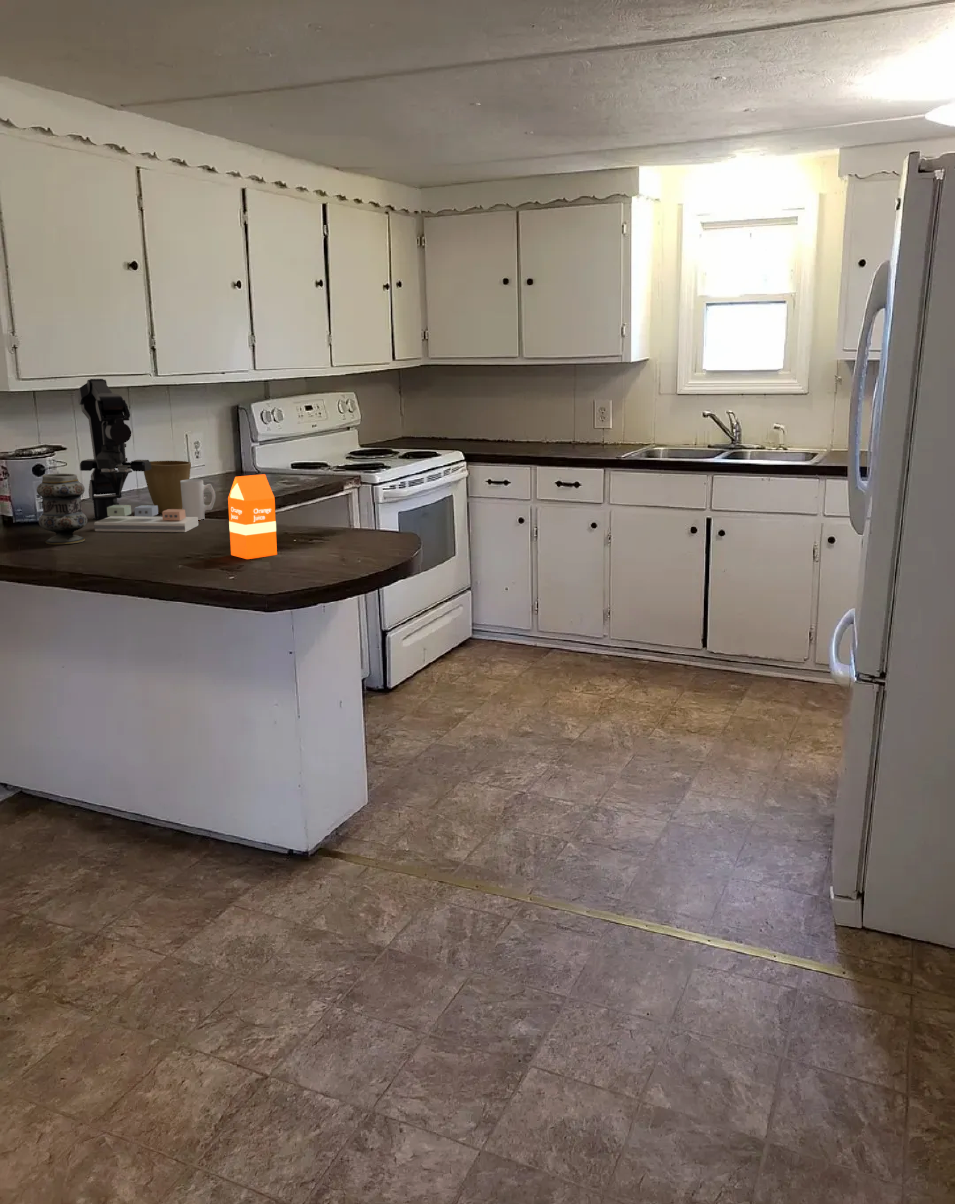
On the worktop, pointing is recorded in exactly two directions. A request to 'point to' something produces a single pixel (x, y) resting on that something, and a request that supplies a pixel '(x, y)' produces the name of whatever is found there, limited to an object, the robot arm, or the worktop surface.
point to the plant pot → (167, 483)
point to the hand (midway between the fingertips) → (118, 495)
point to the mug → (195, 498)
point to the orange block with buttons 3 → (173, 514)
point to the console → (145, 524)
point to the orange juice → (252, 517)
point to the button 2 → (146, 510)
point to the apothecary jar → (62, 507)
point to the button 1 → (119, 510)
